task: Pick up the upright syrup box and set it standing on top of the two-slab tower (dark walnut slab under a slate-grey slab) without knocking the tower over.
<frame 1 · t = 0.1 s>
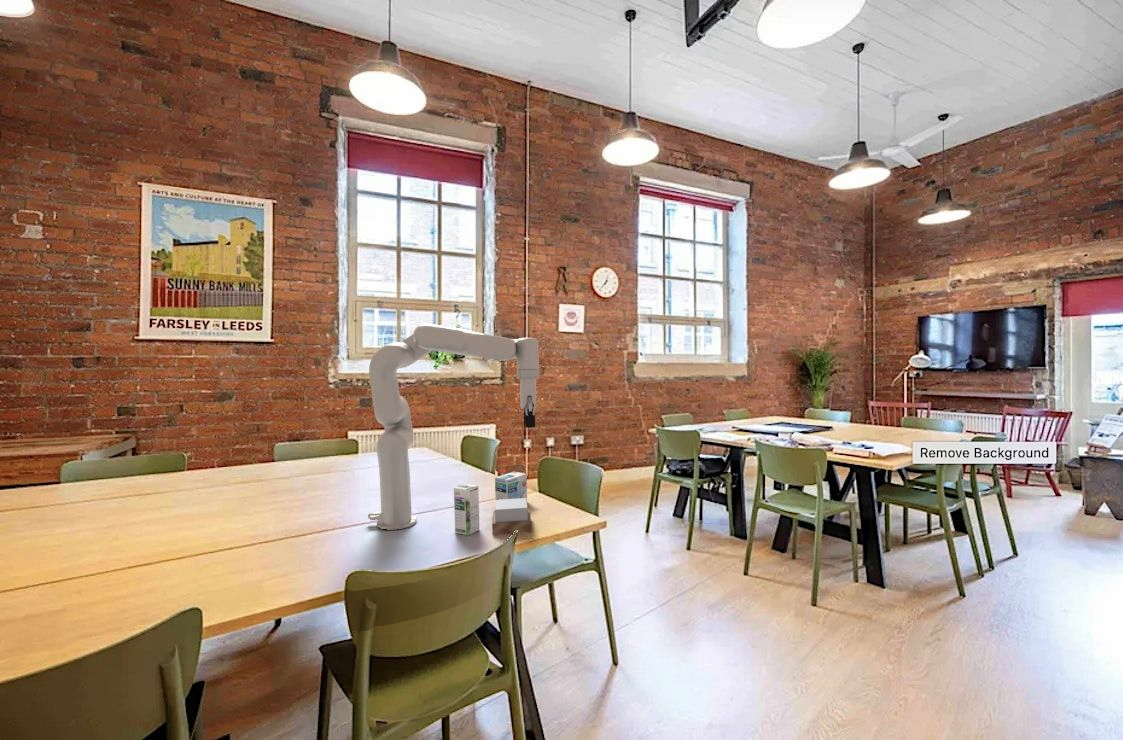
hand: (529, 425, 168), 31 cm above the table, tool pointing down, fingers open, 9 cm apart
grey slab: (511, 515, 160), point 3 cm above the table
syrup box: (467, 532, 156), on the table
light bulb box: (511, 504, 183), on the table
walnut slab: (512, 528, 160), on the table
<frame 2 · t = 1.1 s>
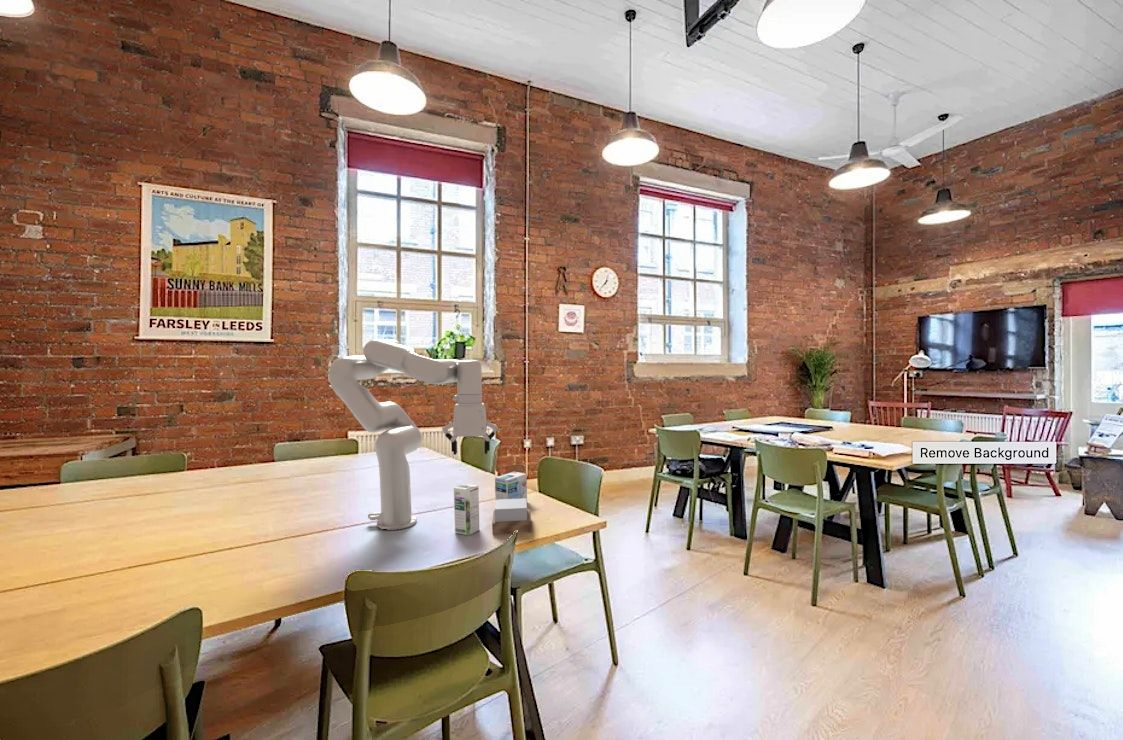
hand: (470, 453, 157), 24 cm above the table, tool pointing down, fingers open, 9 cm apart
grey slab: (511, 515, 159), point 3 cm above the table, touching walnut slab
walnut slab: (512, 528, 160), on the table, touching grey slab
everything else where it was.
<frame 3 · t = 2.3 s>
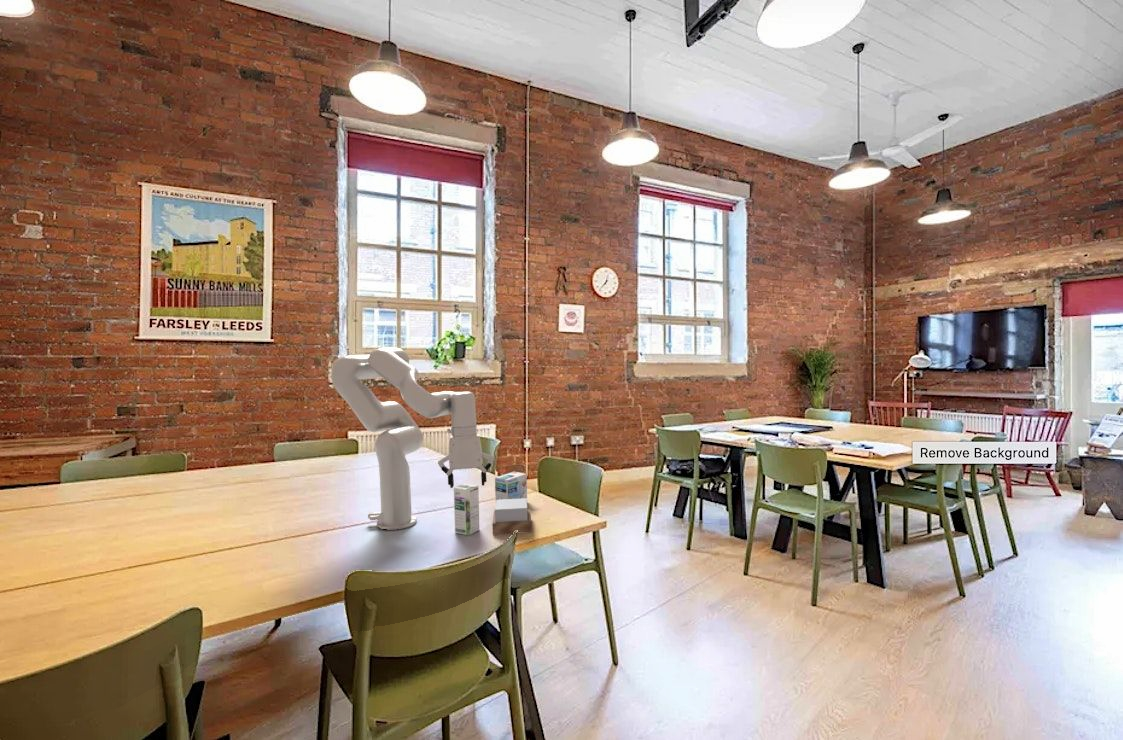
hand: (467, 485, 156), 15 cm above the table, tool pointing down, fingers open, 9 cm apart
nothing on the table moved.
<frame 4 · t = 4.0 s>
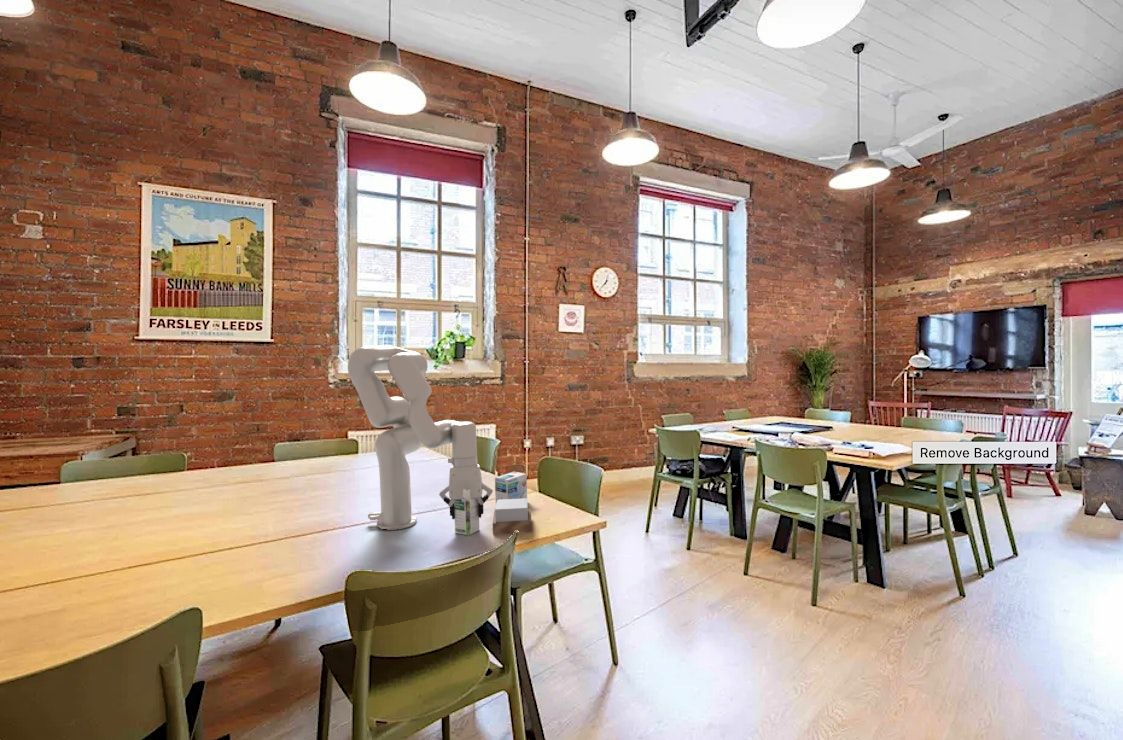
hand: (467, 516, 156), 5 cm above the table, tool pointing down, fingers closed on syrup box, 7 cm apart
syrup box: (467, 532, 156), on the table, touching gripper
everything else where it was.
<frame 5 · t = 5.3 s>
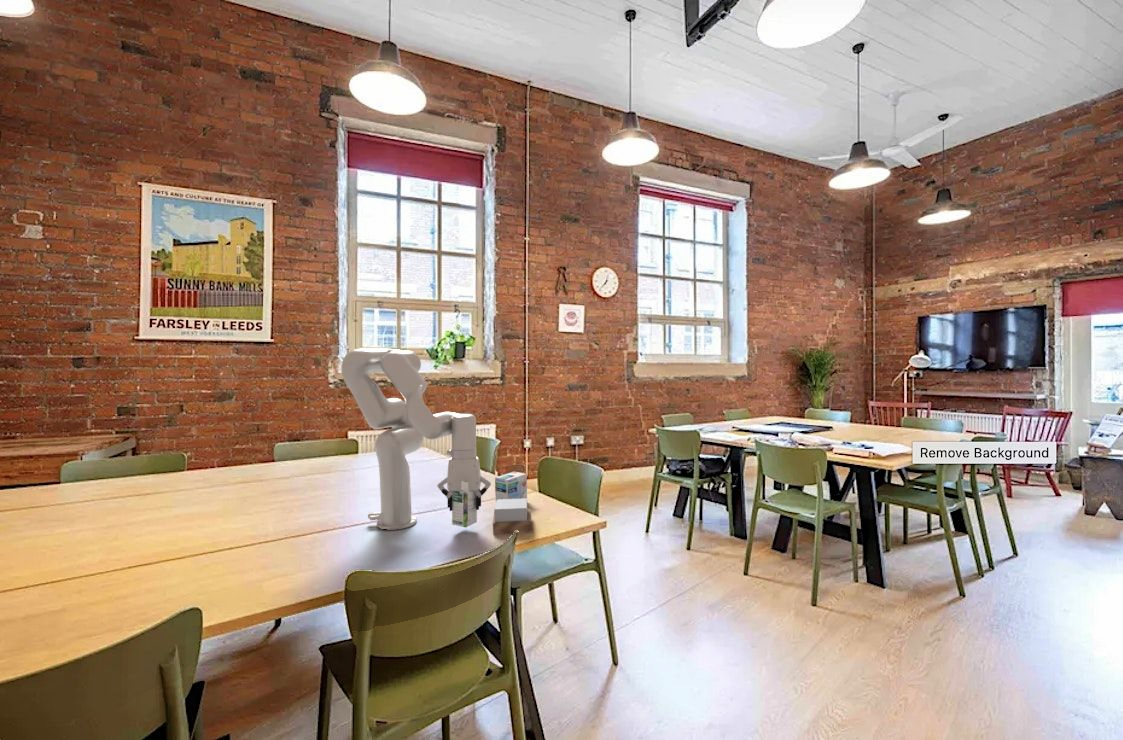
hand: (464, 508, 156), 7 cm above the table, tool pointing down, fingers closed on syrup box, 7 cm apart
syrup box: (464, 524, 157), point 2 cm above the table, touching gripper
everything else where it was.
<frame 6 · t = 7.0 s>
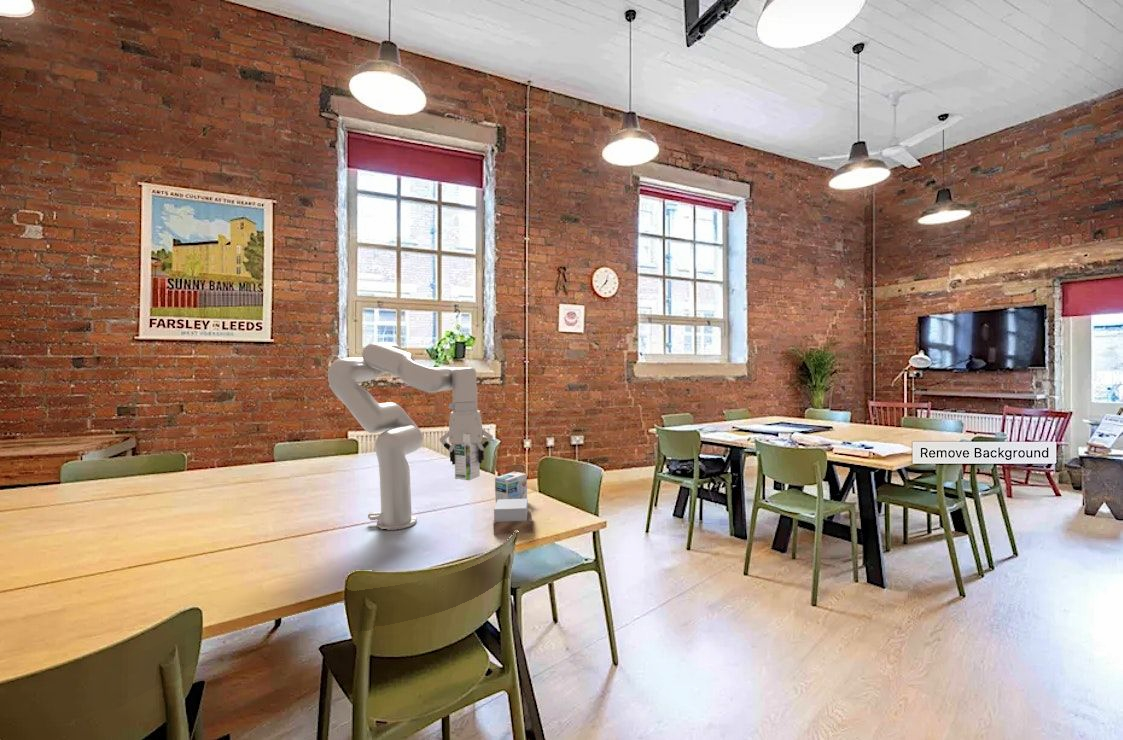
hand: (467, 462, 156), 22 cm above the table, tool pointing down, fingers closed on syrup box, 7 cm apart
syrup box: (467, 478, 156), point 17 cm above the table, touching gripper
everything else where it was.
when the fingers open (14 cm above the table, at t = 10.6 s): syrup box drops 1 cm, point 8 cm above the table.
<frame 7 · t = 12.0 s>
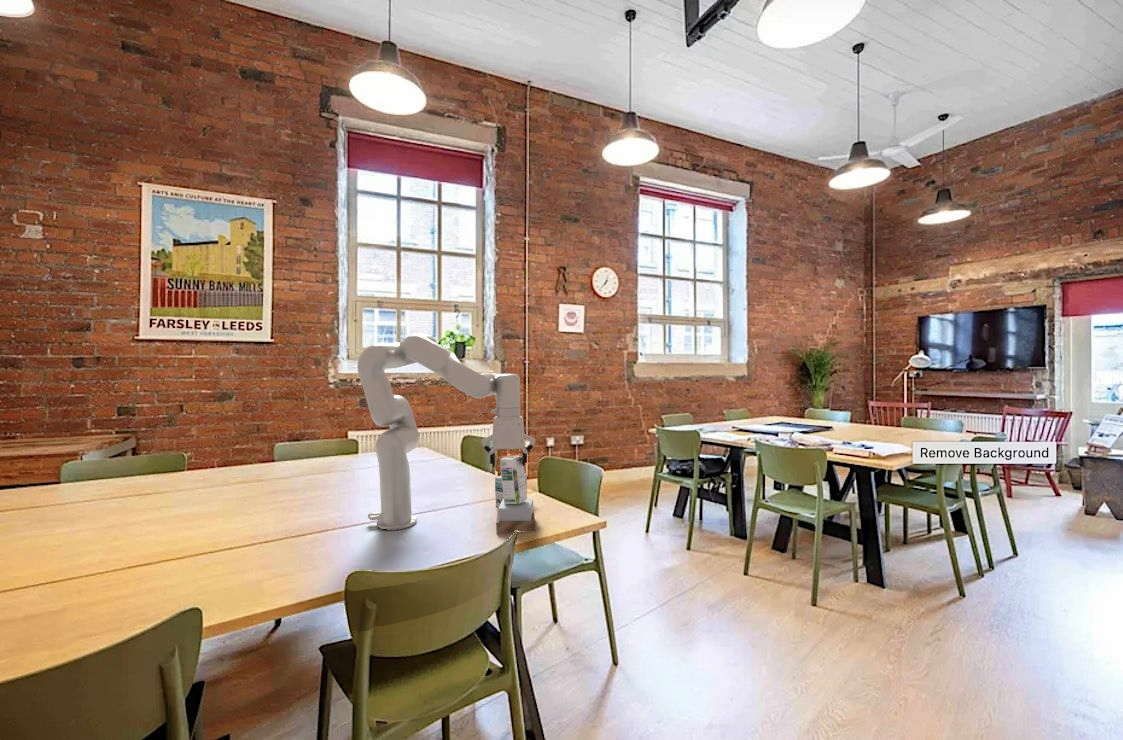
hand: (508, 465, 159), 20 cm above the table, tool pointing down, fingers open, 9 cm apart
grey slab: (516, 515, 160), point 3 cm above the table, touching walnut slab
syrup box: (515, 502, 160), point 8 cm above the table
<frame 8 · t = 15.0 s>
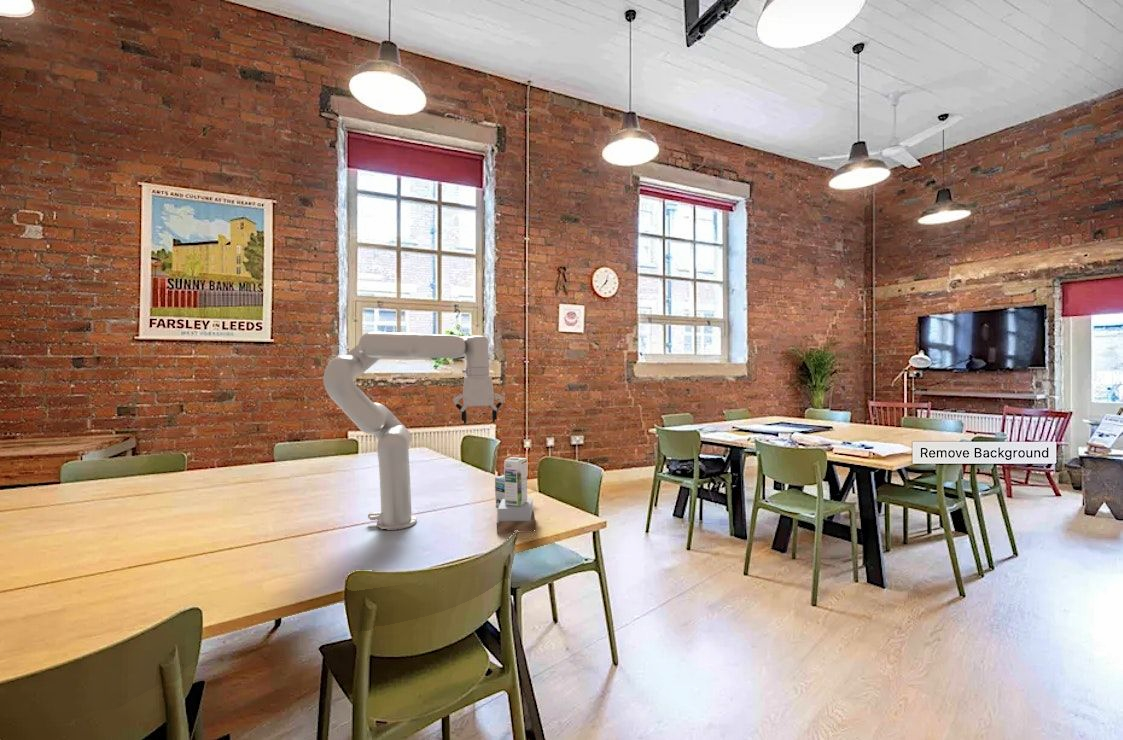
hand: (479, 422, 169), 32 cm above the table, tool pointing down, fingers open, 9 cm apart
grey slab: (515, 515, 160), point 3 cm above the table, touching syrup box, walnut slab
syrup box: (516, 503, 160), point 7 cm above the table, touching grey slab
at the end: syrup box inside the target area on the grey slab (0.2 cm from its centre), point 3.9 cm above the grey slab's base; grey slab 0.4 cm off-centre on the walnut slab, point 4.0 cm above the walnut slab's base; syrup box tilted 2° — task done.
